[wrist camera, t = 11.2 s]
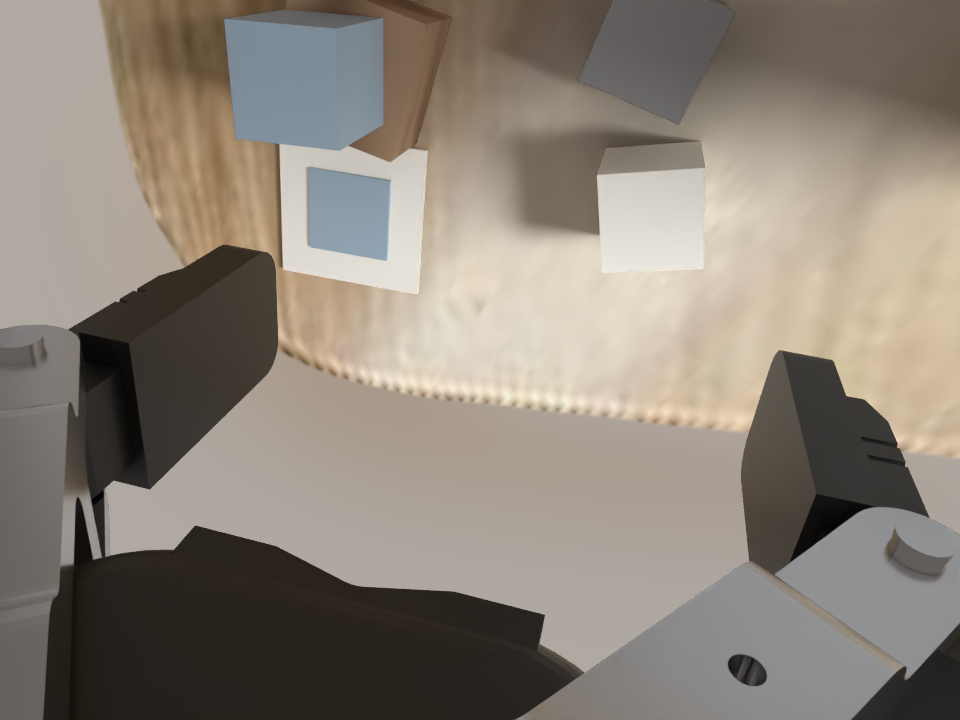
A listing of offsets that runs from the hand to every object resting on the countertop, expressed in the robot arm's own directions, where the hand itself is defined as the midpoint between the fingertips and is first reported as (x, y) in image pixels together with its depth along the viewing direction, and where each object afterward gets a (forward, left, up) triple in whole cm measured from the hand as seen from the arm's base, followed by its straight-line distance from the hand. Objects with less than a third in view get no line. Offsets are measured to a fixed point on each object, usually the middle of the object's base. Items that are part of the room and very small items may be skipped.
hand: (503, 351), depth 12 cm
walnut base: (+13, +1, -33) cm, 35 cm away
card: (+15, +10, -32) cm, 37 cm away
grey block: (-1, -2, -32) cm, 32 cm away
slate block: (+14, +1, -28) cm, 31 cm away
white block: (-3, +6, -32) cm, 33 cm away
